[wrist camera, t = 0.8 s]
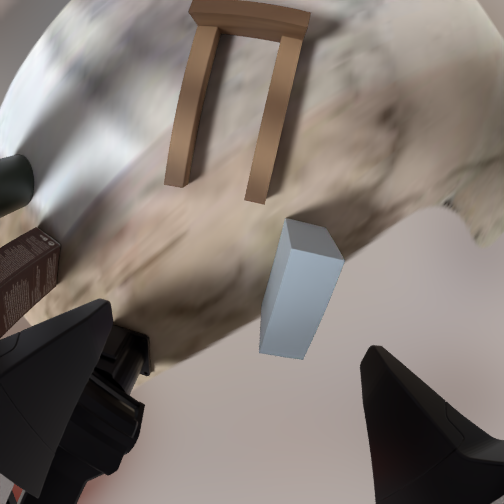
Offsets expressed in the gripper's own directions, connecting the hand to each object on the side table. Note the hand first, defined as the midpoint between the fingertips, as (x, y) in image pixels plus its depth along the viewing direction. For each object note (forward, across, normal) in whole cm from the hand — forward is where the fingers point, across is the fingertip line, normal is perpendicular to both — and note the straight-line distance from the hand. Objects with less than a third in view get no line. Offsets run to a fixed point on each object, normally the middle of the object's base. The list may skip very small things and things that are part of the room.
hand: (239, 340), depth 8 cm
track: (+13, +3, -8) cm, 16 cm away
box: (+14, +22, +7) cm, 27 cm away
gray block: (+13, -4, +3) cm, 14 cm away
